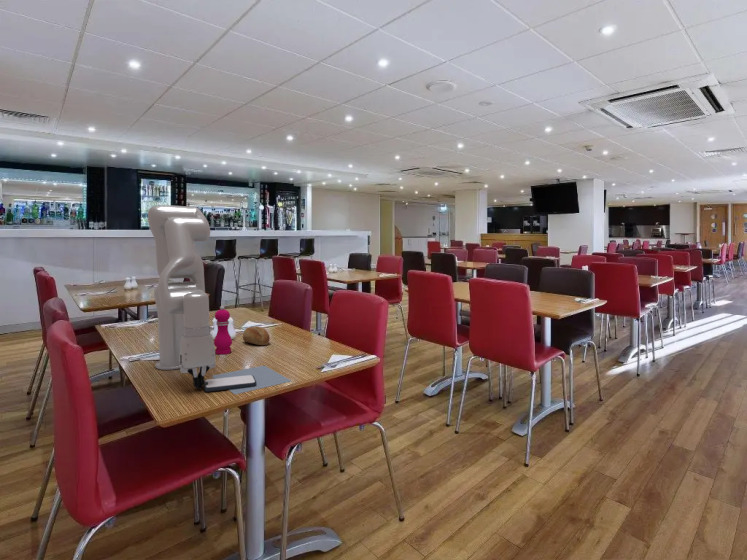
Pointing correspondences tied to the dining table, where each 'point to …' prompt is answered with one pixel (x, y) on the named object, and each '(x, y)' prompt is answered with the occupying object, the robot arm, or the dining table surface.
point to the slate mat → (256, 378)
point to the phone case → (229, 383)
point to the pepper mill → (222, 332)
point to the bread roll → (256, 335)
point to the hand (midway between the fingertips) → (198, 387)
